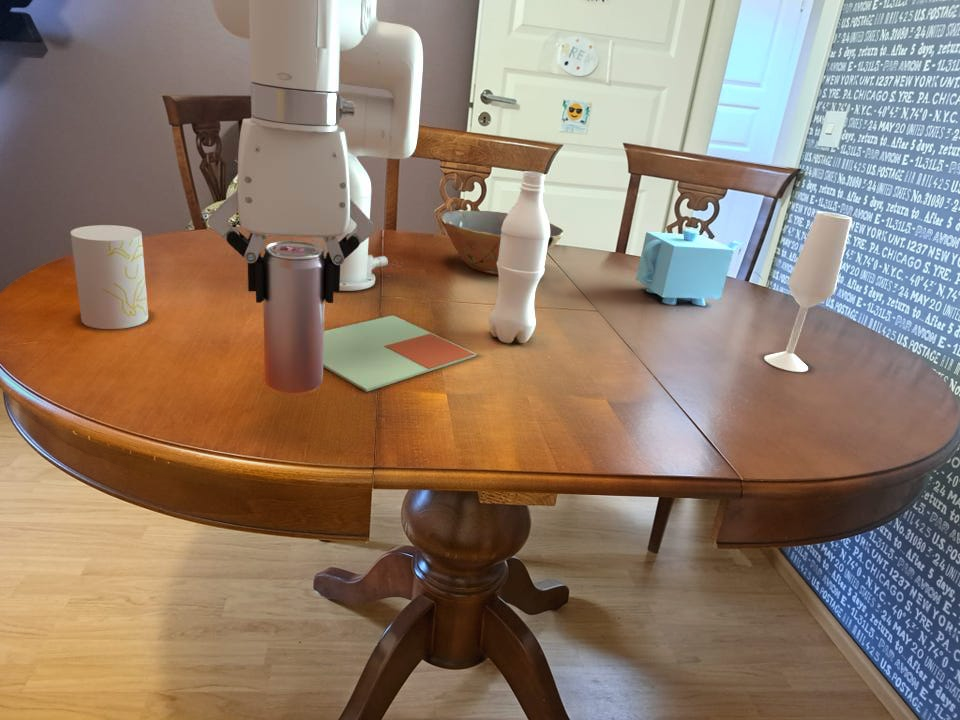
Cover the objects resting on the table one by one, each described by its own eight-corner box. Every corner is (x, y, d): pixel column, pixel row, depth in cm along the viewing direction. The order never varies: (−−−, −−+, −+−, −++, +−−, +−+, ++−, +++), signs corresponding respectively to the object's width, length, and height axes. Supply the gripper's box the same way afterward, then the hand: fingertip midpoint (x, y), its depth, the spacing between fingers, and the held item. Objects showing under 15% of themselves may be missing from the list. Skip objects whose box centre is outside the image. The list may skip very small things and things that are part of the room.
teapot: (647, 305, 128) (663, 234, 122) (622, 287, 137) (636, 221, 132) (744, 308, 134) (763, 241, 128) (713, 290, 143) (730, 227, 138)
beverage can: (270, 370, 73) (269, 237, 67) (325, 374, 74) (329, 243, 68) (259, 395, 68) (256, 253, 61) (318, 399, 68) (321, 259, 62)
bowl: (579, 281, 138) (588, 233, 134) (490, 294, 122) (497, 240, 118) (499, 249, 155) (505, 207, 151) (412, 257, 139) (416, 210, 135)
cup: (121, 333, 87) (112, 244, 82) (67, 322, 88) (55, 233, 84) (161, 314, 95) (154, 231, 90) (110, 304, 96) (101, 222, 91)
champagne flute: (813, 365, 108) (864, 218, 98) (801, 375, 103) (853, 221, 93) (771, 351, 111) (816, 208, 102) (758, 360, 106) (804, 211, 97)
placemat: (392, 317, 105) (393, 314, 105) (476, 356, 94) (476, 353, 94) (282, 343, 90) (282, 339, 90) (366, 392, 80) (366, 388, 80)
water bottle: (537, 335, 105) (564, 174, 95) (525, 350, 99) (553, 179, 89) (495, 325, 107) (517, 167, 97) (480, 339, 100) (502, 171, 91)
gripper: (383, 113, 65) (373, 286, 73) (193, 94, 60) (203, 284, 67) (398, 123, 59) (386, 312, 66) (187, 103, 53) (199, 312, 61)
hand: (294, 296), depth 67 cm, fingers closed on beverage can, 6 cm apart
